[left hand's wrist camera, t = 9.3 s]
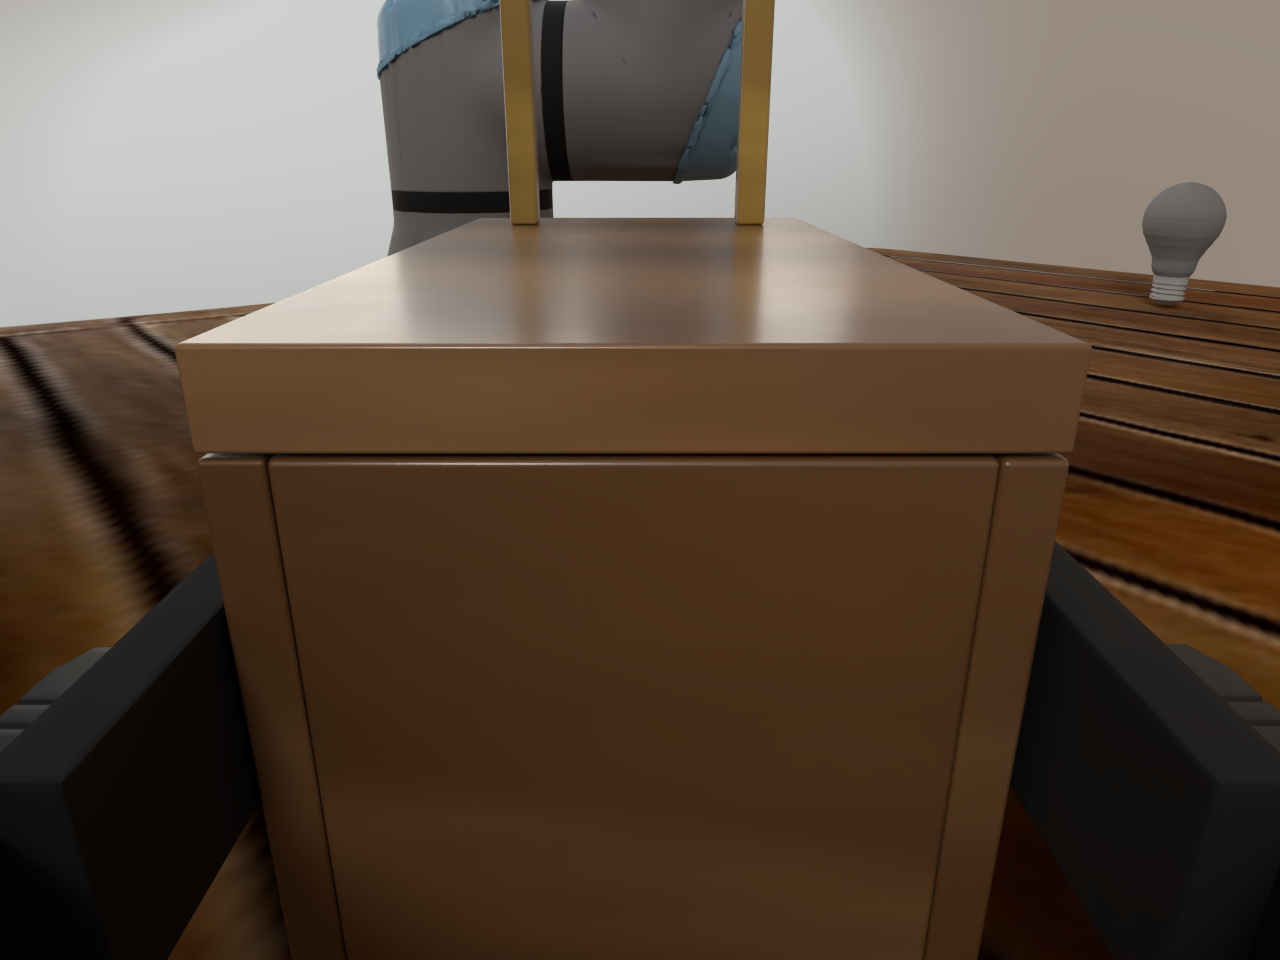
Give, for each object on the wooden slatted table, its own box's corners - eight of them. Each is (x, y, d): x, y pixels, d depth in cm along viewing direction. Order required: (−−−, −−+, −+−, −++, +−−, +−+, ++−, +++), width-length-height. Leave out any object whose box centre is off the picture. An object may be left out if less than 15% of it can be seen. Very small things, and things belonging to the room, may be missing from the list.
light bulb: (1143, 309, 73) (1169, 183, 70) (1115, 297, 79) (1138, 181, 75) (1219, 310, 72) (1249, 183, 69) (1186, 299, 78) (1212, 181, 74)
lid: (481, 259, 25) (459, -86, 22) (793, 259, 25) (815, -85, 22) (192, 455, 9) (-38, -736, 6) (1074, 455, 9) (1297, -738, 6)
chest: (497, 572, 28) (477, 263, 25) (778, 572, 28) (797, 263, 25) (318, 1104, 12) (193, 460, 9) (953, 1104, 12) (1073, 459, 9)
